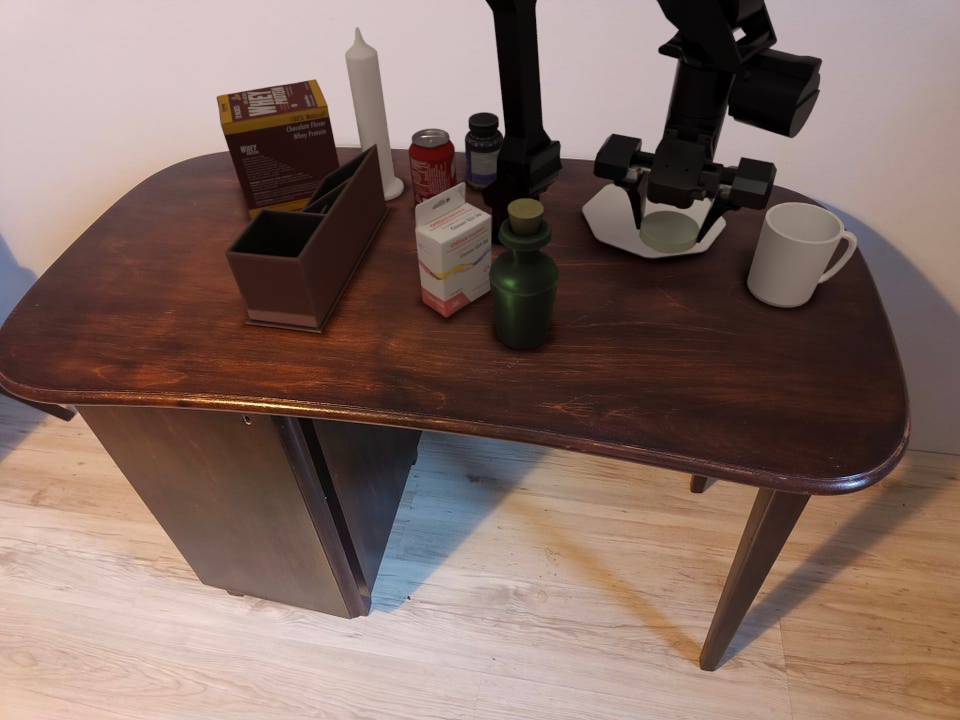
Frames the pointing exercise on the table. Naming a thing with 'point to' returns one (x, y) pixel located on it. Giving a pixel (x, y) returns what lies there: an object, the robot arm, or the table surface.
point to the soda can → (432, 165)
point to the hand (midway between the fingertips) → (668, 234)
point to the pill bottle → (482, 149)
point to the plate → (618, 228)
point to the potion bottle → (523, 277)
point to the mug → (796, 253)
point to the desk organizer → (309, 248)
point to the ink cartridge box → (452, 251)
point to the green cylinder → (669, 232)
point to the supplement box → (279, 143)
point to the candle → (371, 109)
